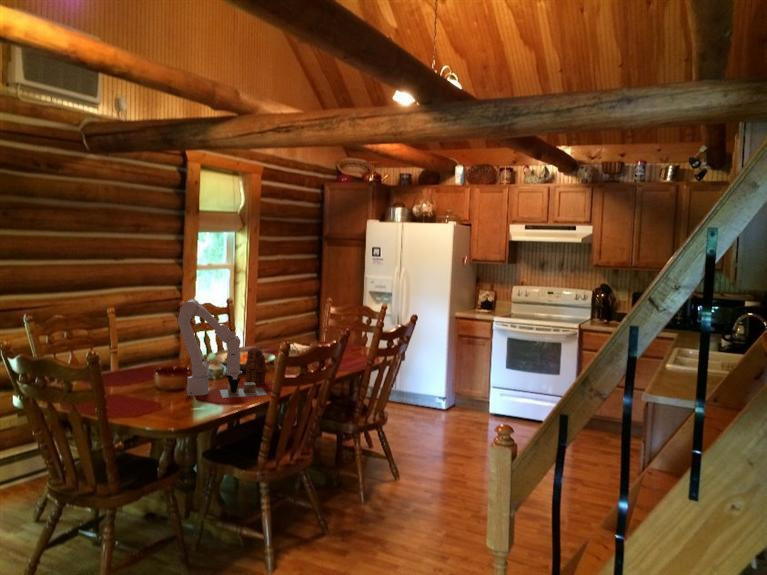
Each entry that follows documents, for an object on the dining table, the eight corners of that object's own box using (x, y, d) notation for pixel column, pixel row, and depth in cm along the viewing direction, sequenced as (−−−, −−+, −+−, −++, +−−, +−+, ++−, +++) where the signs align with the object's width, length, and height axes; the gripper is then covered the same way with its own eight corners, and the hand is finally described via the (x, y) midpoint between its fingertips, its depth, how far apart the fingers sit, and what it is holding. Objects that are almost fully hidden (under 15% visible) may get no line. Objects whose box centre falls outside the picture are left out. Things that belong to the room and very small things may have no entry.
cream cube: (228, 394, 286) (228, 385, 285) (227, 391, 290) (227, 383, 289) (238, 393, 287) (238, 385, 287) (237, 391, 291) (237, 382, 291)
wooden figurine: (241, 383, 310) (241, 347, 308) (249, 381, 315) (249, 346, 314) (259, 386, 304) (260, 350, 302) (268, 384, 310) (268, 348, 308)
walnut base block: (244, 393, 288) (244, 385, 287) (243, 391, 292) (243, 382, 292) (255, 393, 290) (255, 384, 289) (254, 390, 294) (254, 382, 294)
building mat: (222, 399, 280) (222, 397, 280) (219, 391, 293) (219, 389, 293) (267, 396, 287) (267, 394, 287) (262, 389, 300) (262, 387, 300)
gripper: (244, 365, 282) (244, 394, 283) (240, 358, 295) (239, 387, 297) (228, 366, 279) (228, 395, 281) (225, 359, 293) (224, 387, 294)
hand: (233, 391), depth 288 cm, fingers closed on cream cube, 4 cm apart
